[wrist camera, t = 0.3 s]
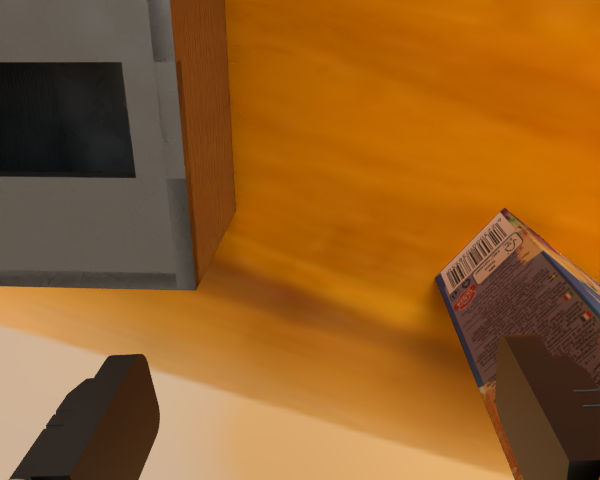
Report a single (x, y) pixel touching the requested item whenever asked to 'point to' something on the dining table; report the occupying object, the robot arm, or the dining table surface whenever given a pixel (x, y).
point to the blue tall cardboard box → (519, 304)
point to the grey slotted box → (113, 142)
